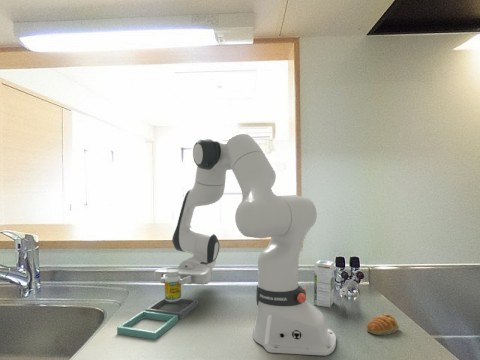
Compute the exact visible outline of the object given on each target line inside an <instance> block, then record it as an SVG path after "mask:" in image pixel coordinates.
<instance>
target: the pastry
mask: <svg viewBox="0 0 480 360" xmlns="http://www.w3.org/2000/svg"><path fill="white" fill-rule="evenodd" d="M366 328H367V329H366V330H367V333H368V332H369V333H370V334H373V335H377V336H382V335H381V334H384V335H390V334H392V332H393V333H395V332H397V331H398V330H399V329H400V326H399V324H398V322H397V321H396V319H395V316H393V315H391V314H387V313H386V314H381V315H378V316H374V317H373V318H372V319H371V320H370V321H369V322H368V324H367V326H366ZM389 333H390V334H389Z"/></svg>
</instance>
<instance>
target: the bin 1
mask: <svg viewBox="0 0 480 360" xmlns="http://www.w3.org/2000/svg"><path fill="white" fill-rule="evenodd" d="M143 319H149V320H156V321H157V320H158V321H165V323H164V324H162V325H161V326H160V327H158V328H157V329H156V330H155V331H153V330H147V329H142V328H141V329H139V328H134V327H132V326H134V325H135V324H136V323H138V322H140V321H141V320H143ZM178 321H179V319H178V315H171V314H163V313H155V312H148V311H145V310H142V311H141V312H138V313H137V314H135V315H134V316H132V317H131V318H129V319H128V320H126V321H124V322H123V323H122V324H120V325H118V326H116V327H117V328H116V333H117V335H125V336H132V337H138V338H144V339H148V340H149V339H150V340H157V339H158V338H160V337H161V336H162V335H163V334H164V333H166V332H167V331H168V330H169V329H170V328H172V327H173V326H175V325H176V324H177V323H178Z"/></svg>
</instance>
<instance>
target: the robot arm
mask: <svg viewBox="0 0 480 360" xmlns="http://www.w3.org/2000/svg"><path fill="white" fill-rule="evenodd" d="M192 157H193V161H194V162H193V163H195V165H196V170H195V171H196V172H195V179H194V180H195V181H194V185H193V186H192V188H191V189H189V190H188V191H187V192H186V193H185V196H184V198H183V201H182V204H181V209H180V212H179V217H178V220H177V225H176V227H175V229H174V233H173V235H172V238H171V242H172V244H173V245H172V246H173V247H174V249H175V250H176V251H178V252H183V253H188V254H190V255H193V256H192V257H189V258H187V259H184V260H183V261H181V262H180V263H179V265H178V267H177V266H163V267H160V268H157V269H155V270H154V273H153V275H154V276H153V277H154V281H155V282H156V281H157V282H160V284H165V278H166V277H167V275H166V271H167V270H171V269H177V270H178V271H179V274H178V276H180V279H179V285H181V286H184V285H208V284H209V283H211V282H212V280H213V269H214V268H215V265H216V260H217V258H218V255H219V252H220V242H219V239H218V237H217V235H216V234H215V233H211V232H207V231H204V230H200V229H196V228H194V227H192V226H191V222H192V218H193V215H194V211H195V209H196V207H203V206H209V205H212V204H215V203H216V202H218V201H220V199H222V197H223V196H224V192H225V188H226V177H227V171H230V170H231V171H232V172H233V174H234V177H235V179H236V180H237V183H238V185H239V187H240V191H241V194H242V195H241V196H242V198H241V201H240V203H239V204H238V206H237V208H236V209H235V215H234V218H235V219H234V221H235V224H236V225H235V226H236V227H237V230H238V231H239V232H240V234H241V235H242V236H244V237H245V238H252V239H253V238H254V239H255V238H256V239H266V238H270V240H269V243H268V244H267V246H266V247H265V248H264V249H263V251H262V252H261V253H260V254H259V255H258V259H257V284H256V290H255V297H256V298H255V301H256V305H257V308H256V309H257V311H256V319H255V324H254V329H253V332H252V338H253V340H254V341H255V342H256V343H257V344H259V345H261V346H262V347H263V348H264V349H265V351H266V352H268V353H274V354H275V353H276V354H288V355H289V354H291V355H306V356H307V355H308V356H309V355H310V356H329V355H330V354H332V353H333V352H334V351H335V349H336V346H337V337H336V334H335V332H334V331H333V329H331V328H328V325H327V321H326V317H325V315H324V314H323V313H322V312H321V311H320V310H319V309H318V308H316V306H314V305H313V304H311V302H309V301H307V300H306V299H307V292H306V287H305V286H304V287H302V286H301V285H299V262H300V260H299V259H300V255H301V250H302V247H303V244H304V241H305V238H306V236H307V235H308V233H309V231H310V230H311V229H312V228H313V227H314V225H315V223H316V221H317V215H318V212H317V209H316V205H315V203H314V202H313V201H312V200H311V199H310V198H307V197H304V196H301V195H296V194H295V195H294V194H291V195H289V194H288V195H276V194H275V193H274V192H273V191H272V188H273V186H274V185H275V182H276V178H277V177H276V176H277V175H276V174H277V173H276V171H275V170H274V168H273V166H272V165H271V163H270V161H269V159H268V157H267V156H266V155H265V153H264V152H263V150H262V147H260V145H259V144H258V143H257V141H255V139H254V138H252V136H251V135H250V134H247V133H245V132H238V133H234V134H233V135H231V136H230V137H226V136H224V137H223V136H220V137H203V138H200V139H198V140H197V141H196V142H195V144H194V146H193V150H192Z"/></svg>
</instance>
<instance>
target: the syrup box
mask: <svg viewBox="0 0 480 360" xmlns="http://www.w3.org/2000/svg"><path fill="white" fill-rule="evenodd" d="M313 269H314V270H313V271H314V278H313V279H314V281H313V283H314V285H313V306H314V305H315V306H318V307H326V308H331V307H332V305H333V304H334V302H335V297H334V296H335V262H334V261H331V260H325V259H324V260H323V259H321V260H320V259H319V260H317V261H316V262H315V263H314V268H313Z"/></svg>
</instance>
